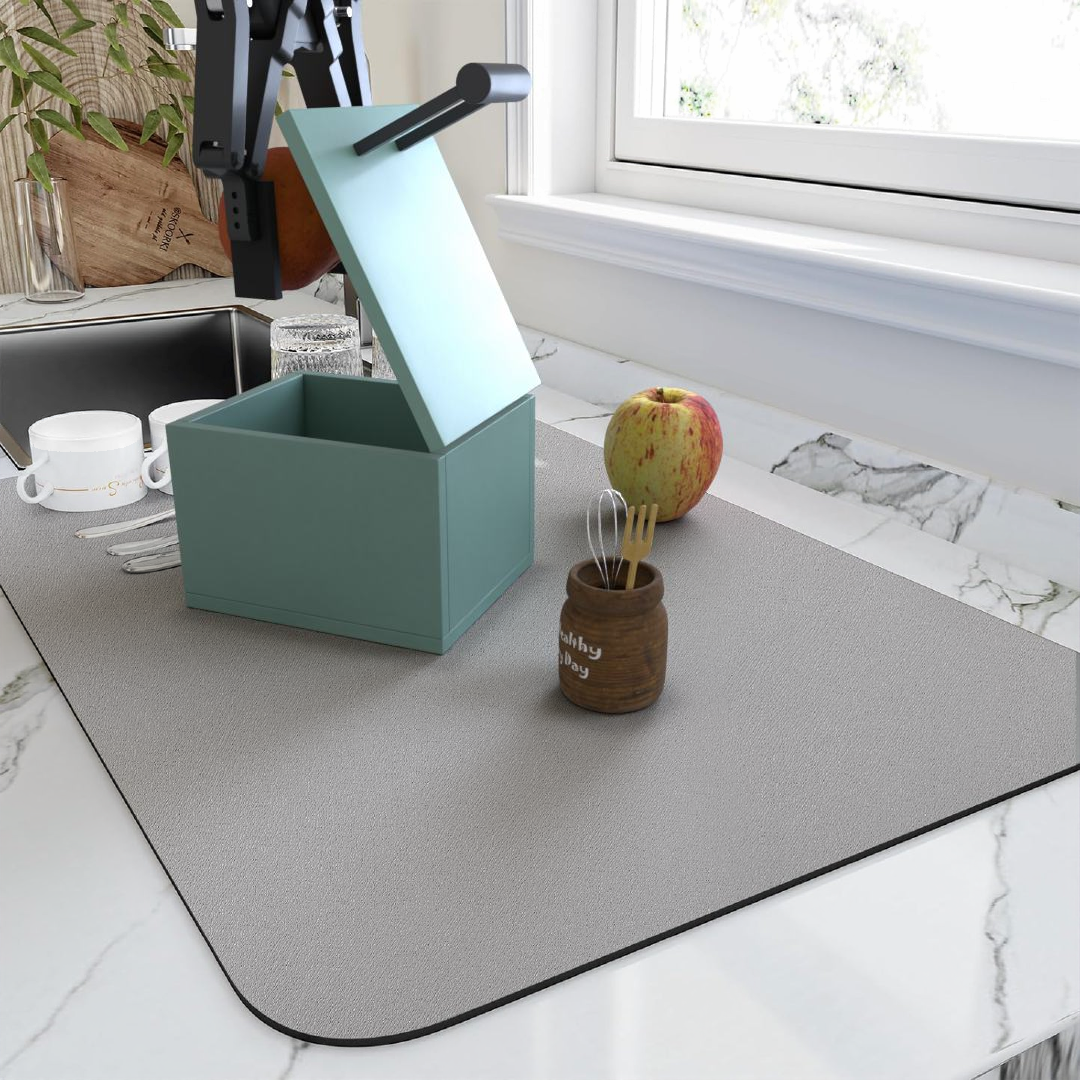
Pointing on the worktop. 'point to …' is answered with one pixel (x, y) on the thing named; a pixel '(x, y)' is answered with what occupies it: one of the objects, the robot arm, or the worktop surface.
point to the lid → (418, 248)
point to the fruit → (292, 224)
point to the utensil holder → (615, 625)
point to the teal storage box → (350, 510)
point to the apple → (663, 451)
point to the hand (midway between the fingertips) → (303, 284)
